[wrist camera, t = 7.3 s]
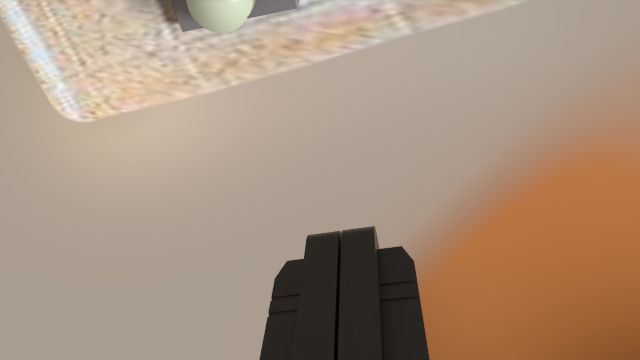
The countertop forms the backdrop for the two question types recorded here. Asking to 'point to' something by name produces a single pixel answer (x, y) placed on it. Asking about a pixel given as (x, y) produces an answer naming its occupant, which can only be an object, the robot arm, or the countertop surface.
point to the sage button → (220, 13)
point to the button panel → (265, 4)
